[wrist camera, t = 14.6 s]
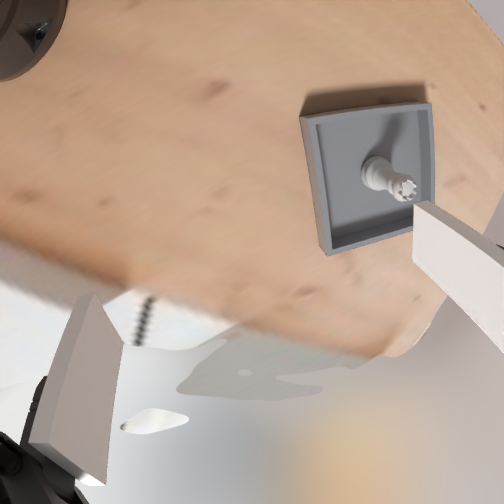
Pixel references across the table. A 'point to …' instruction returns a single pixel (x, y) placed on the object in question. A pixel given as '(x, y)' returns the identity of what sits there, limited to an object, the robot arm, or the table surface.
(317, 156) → the tray
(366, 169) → the rook chess piece
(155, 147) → the table surface
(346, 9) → the table surface
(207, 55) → the table surface
